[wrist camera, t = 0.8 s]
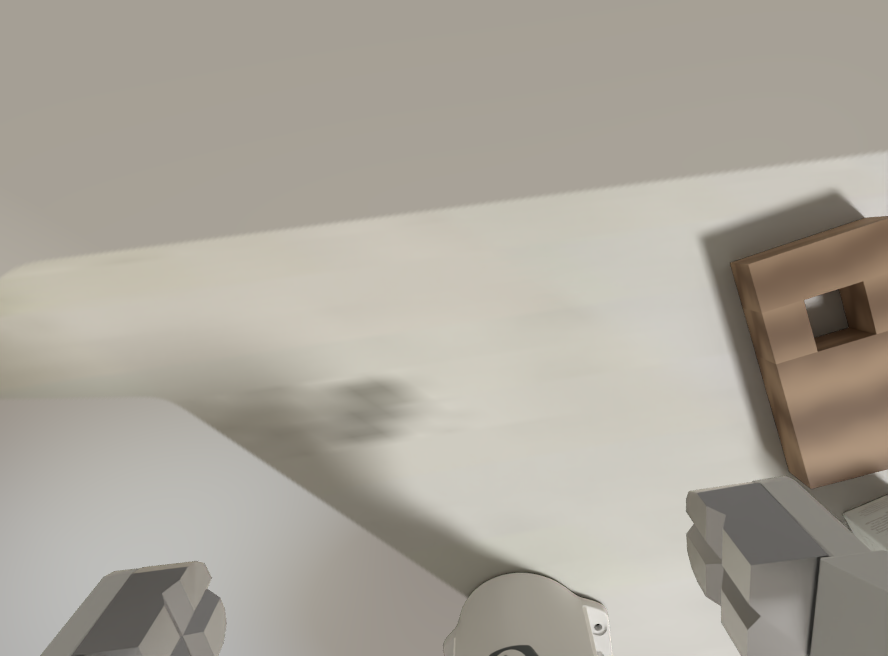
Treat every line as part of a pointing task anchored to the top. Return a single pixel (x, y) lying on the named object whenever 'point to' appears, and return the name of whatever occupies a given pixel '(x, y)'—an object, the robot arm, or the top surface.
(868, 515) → the small box
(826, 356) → the walnut board
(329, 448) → the top surface
